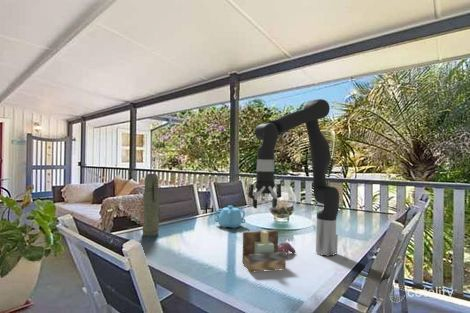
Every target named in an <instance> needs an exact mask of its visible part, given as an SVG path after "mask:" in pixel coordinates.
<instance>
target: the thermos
mask: <svg viewBox="0 0 470 313" xmlns="http://www.w3.org/2000/svg"><path fill="white" fill-rule="evenodd" d="M158 177H159V176H158V174H156V173H147V174H146V175H145V178H144V192H143V195H142V199H143V200H142V203H143V204H142V205H143V222H142V236H143V237H148V238H149V237H150V238H151V237H156V236H158V235H159V228H160V227H159V225H160V224H159V204H160V194H159V189H158V188H159V178H158Z"/></svg>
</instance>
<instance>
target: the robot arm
mask: <svg viewBox="0 0 470 313" xmlns="http://www.w3.org/2000/svg"><path fill="white" fill-rule="evenodd" d="M329 113H330V104H329V102H328V101H327V100H326V99H322V98H321V99H320V98H319V99H312V100H308V101H306V102H305V103H304V105H303V109H300V110H296V111H293V112H289V113H287V114H284V115H281V116H279V117H277V118H275V119H273V120H268V121H265V122H262V123H260V124H258V125H257V126H256V127H255V130H254V135H255V137H256V138H257V139H258V140H261V141H262V144H261V145H260V146H258V147H257V159H256V160H257V161H256V179H255V180H256V183H249V184H248V194H247V195H248V196H247V197H248V198H250V199H252V207H253V208H254V209H258V197H259V196H261V195H265V194H267V195H270V196H271V197H272V199H271V200H272V202H271V205H272V206H271V207H272V208H274V209H275V208H276V207H277V206H278V199H279V198H281V197H282V185H281V183H278V182H276V183H275V147H276V145H277V140H278V137H279V136H278V135H279V134H283V133H286V132H289V131H291V130H293V129H295V128H297V127H299V126H301V125H304V124H305V126H306V131H307V137H308V144H309V152H310V153H309V154H310V161H311V166H312V178H313V179H312V180H313V184H312V186H313V196H314V200H315V202H317V203H318V204H321V205H323V209H322V210H320V211H319V210H318V211H317V213H316V228H315V229H316V233H315V235H316V236H315V237H316V238H315V253H316V252H317V253H318V254H317V253H316V254H317V255H319V254H322V255H333V254H335V253H337V254H338V240H339V237H338V234H337V216H338V214H339V208H340V205H339V204H340V192H339V190H338V188H337V187H335V186H330V185H327V179H326V178H327V177H326V174H327V170H328V168H329V167H330V163H331V158H332V157H331V150H330V149H331V148H330V144H329V142H328V141H327V139H326V138H325V136H324V133H322V131H321V128H320V126H319V125H320V124H319V120H322V119H324V118H326V117H327V116H328V115H329ZM274 188H275V189H276V192H275V191H274ZM255 189H256V190H255ZM254 190H255V192H254ZM322 255H321V256H322Z"/></svg>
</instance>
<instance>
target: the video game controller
mask: <svg viewBox="0 0 470 313" xmlns="http://www.w3.org/2000/svg"><path fill="white" fill-rule="evenodd" d="M278 252H286V253H288V254H289V253H291V252H292V253H295V254H297V252H296V250H295V248H294V247H293V246H292V245H291V244H290V243H289V242H288V241H287V242H285V241H284V242H280V243H278ZM292 253H291V254H292ZM288 254H286V259H287V258H288Z"/></svg>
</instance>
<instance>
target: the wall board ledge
mask: <svg viewBox="0 0 470 313" xmlns="http://www.w3.org/2000/svg"><path fill="white" fill-rule="evenodd" d="M266 231H267V232H268V241H270V242H272V243H273V244H274V252H273V253H260V254H254V247H255V242H260V239H261V230H256V231H255V230H254V231H253V230H252V231H243V232H242V260H241V261H242V263H243V264H244V265H245V266H244V265H243V264H242V265H243V266H244V268H245V267H246V268H247V269H248V270H247V269H246V268H245V269H246V270H247V271H248V272H250V273H255V272H254V271H262V272H265V271H264V270H273V271H276V270H275V269H284V270H286V268H287V267H286V266H287V265H286V263H287V262H286V261H287V258H286V252H278V246H279V230H276V229H275V230H266Z"/></svg>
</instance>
